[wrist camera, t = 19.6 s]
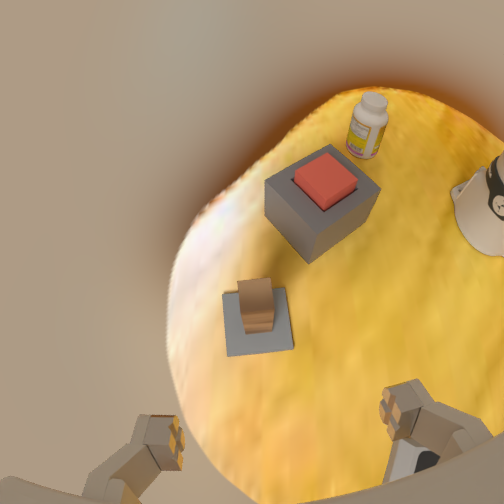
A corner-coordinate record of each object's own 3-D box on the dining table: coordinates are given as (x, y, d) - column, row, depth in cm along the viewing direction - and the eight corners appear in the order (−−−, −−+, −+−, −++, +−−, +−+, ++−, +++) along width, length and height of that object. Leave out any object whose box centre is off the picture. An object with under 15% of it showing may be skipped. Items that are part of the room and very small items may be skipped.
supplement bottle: (372, 138, 60) (387, 90, 49) (379, 161, 57) (398, 112, 46) (342, 136, 60) (353, 86, 49) (348, 159, 57) (362, 108, 46)
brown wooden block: (243, 309, 44) (237, 281, 35) (268, 307, 44) (270, 277, 35) (245, 334, 43) (240, 312, 33) (271, 331, 43) (274, 309, 33)
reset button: (322, 174, 48) (327, 152, 44) (350, 200, 46) (358, 179, 41) (292, 192, 47) (295, 170, 42) (320, 220, 44) (326, 200, 40)
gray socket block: (322, 179, 55) (330, 143, 47) (365, 221, 51) (381, 188, 43) (264, 215, 52) (264, 180, 44) (308, 264, 48) (317, 234, 40)
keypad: (403, 438, 32) (484, 437, 30) (393, 436, 36) (471, 436, 34) (386, 502, 28) (470, 495, 26) (377, 496, 32) (458, 491, 30)
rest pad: (222, 295, 46) (222, 294, 45) (284, 288, 46) (284, 287, 46) (227, 356, 42) (227, 356, 41) (293, 349, 42) (293, 348, 42)
